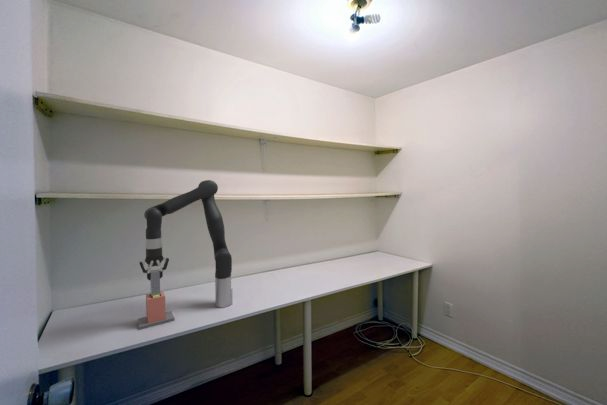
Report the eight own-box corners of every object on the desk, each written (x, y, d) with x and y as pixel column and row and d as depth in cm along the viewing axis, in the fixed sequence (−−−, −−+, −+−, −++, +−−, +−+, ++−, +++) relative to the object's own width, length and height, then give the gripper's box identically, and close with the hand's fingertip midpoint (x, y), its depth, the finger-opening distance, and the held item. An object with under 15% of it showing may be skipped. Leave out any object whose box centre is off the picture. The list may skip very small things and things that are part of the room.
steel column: (159, 303, 146) (158, 269, 144) (160, 305, 142) (159, 271, 141) (150, 304, 143) (149, 270, 142) (151, 307, 140) (150, 272, 139)
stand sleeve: (171, 313, 152) (170, 287, 151) (174, 320, 144) (173, 293, 143) (137, 321, 143) (136, 293, 142) (139, 329, 135) (138, 300, 134)
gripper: (168, 243, 148) (168, 274, 149) (137, 247, 139) (138, 279, 141) (170, 246, 142) (171, 278, 143) (138, 250, 133) (139, 284, 135)
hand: (154, 278), depth 142 cm, fingers open, 4 cm apart
